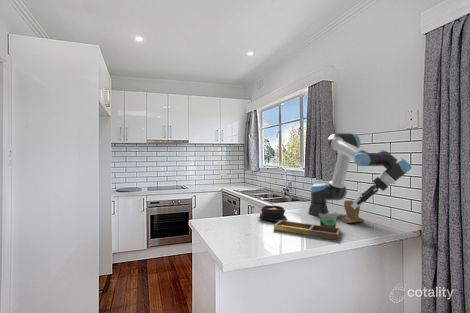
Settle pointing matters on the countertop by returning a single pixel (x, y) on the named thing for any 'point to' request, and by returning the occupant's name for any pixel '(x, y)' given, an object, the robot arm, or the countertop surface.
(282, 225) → the walnut divided tray
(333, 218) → the food container
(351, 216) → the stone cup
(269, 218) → the casserole
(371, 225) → the countertop surface
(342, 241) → the countertop surface
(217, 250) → the countertop surface
